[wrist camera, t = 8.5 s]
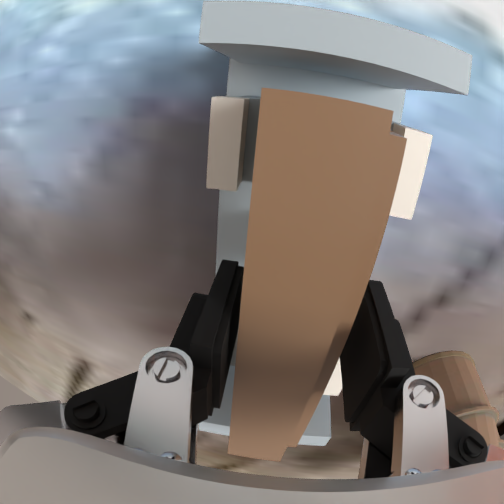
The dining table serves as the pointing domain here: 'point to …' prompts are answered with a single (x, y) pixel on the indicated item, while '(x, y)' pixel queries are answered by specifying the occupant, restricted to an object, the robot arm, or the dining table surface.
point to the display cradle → (320, 83)
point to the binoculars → (462, 391)
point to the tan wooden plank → (306, 257)
